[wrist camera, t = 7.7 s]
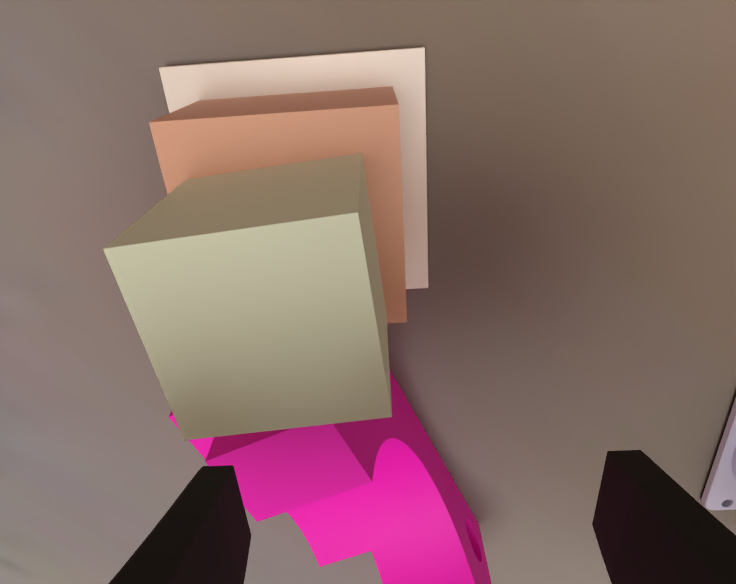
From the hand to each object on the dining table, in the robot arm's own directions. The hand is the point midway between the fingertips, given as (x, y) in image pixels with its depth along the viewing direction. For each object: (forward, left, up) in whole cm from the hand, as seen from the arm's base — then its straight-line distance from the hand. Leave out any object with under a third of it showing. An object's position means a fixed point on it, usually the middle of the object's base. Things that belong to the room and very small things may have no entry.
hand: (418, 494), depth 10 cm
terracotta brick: (+3, -4, -10) cm, 11 cm away
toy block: (+2, +9, -11) cm, 14 cm away
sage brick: (+3, -3, -6) cm, 7 cm away
